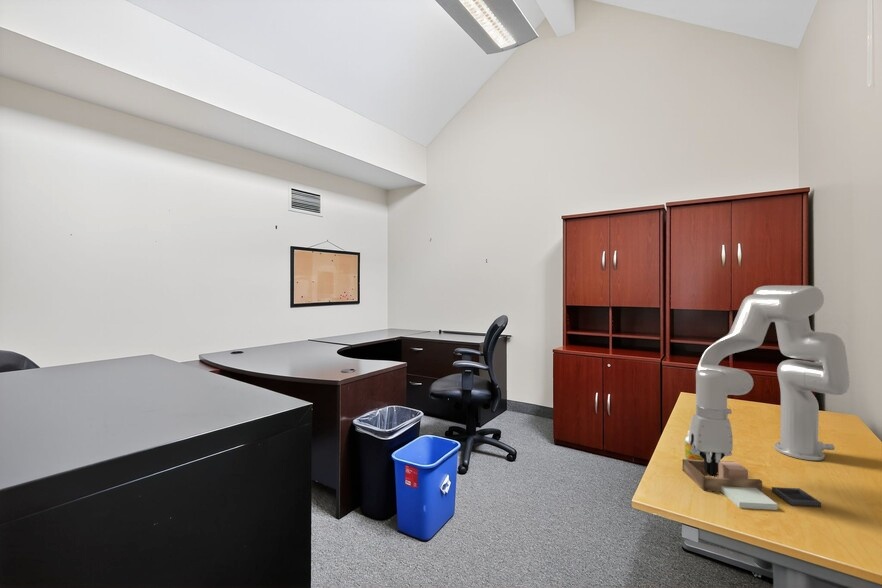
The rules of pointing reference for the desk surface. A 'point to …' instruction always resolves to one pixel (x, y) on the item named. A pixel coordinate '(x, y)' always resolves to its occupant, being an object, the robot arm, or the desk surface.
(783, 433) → the robot arm
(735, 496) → the sage tile
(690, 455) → the supplement bottle
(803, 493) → the dark gray rectangular tray
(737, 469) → the terracotta cube
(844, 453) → the desk surface
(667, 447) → the desk surface
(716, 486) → the wooden tray frame
